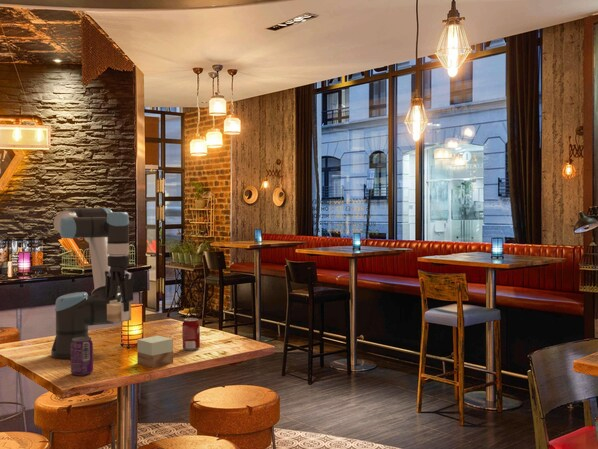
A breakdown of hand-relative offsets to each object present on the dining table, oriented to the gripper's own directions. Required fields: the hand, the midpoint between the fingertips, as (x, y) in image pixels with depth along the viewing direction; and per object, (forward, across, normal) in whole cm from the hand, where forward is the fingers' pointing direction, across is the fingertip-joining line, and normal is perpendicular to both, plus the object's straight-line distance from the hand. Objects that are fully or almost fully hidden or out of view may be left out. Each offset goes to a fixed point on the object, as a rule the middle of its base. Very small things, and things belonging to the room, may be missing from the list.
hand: (119, 319), depth 224 cm
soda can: (+17, -3, -31) cm, 35 cm away
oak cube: (0, 0, 0) cm, 0 cm away
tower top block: (+12, -9, -9) cm, 17 cm away
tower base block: (+17, -9, -9) cm, 21 cm away
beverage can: (+16, 0, +15) cm, 23 cm away
